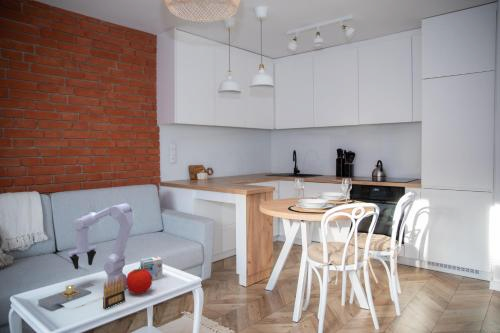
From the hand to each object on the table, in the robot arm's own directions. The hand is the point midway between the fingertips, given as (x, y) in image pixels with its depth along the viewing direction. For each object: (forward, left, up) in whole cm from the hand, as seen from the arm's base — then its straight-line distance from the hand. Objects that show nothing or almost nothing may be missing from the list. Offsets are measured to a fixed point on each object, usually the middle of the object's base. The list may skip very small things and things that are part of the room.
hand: (83, 266), depth 192 cm
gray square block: (-4, +1, -10) cm, 11 cm away
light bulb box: (-21, -27, -11) cm, 36 cm away
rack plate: (-10, +16, -10) cm, 21 cm away
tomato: (-32, -10, -11) cm, 35 cm away
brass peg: (-10, +13, -10) cm, 19 cm away
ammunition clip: (-34, +6, -11) cm, 36 cm away
